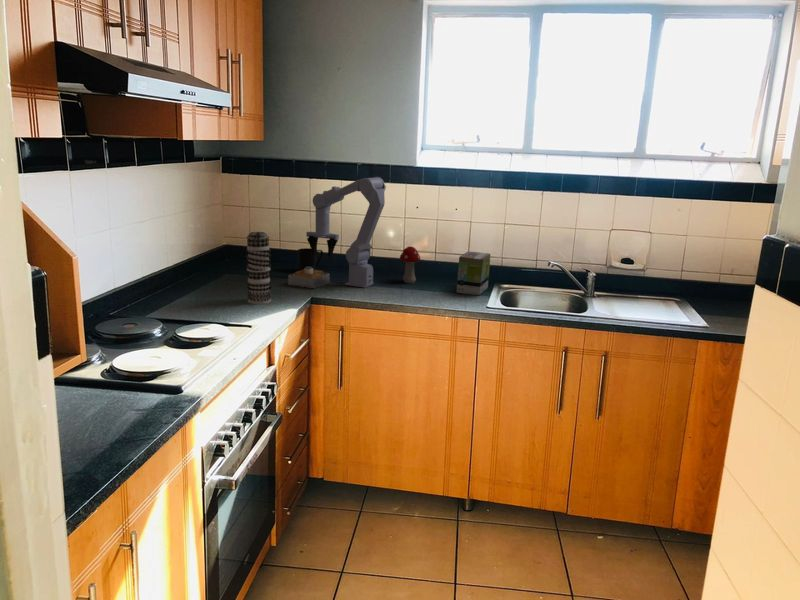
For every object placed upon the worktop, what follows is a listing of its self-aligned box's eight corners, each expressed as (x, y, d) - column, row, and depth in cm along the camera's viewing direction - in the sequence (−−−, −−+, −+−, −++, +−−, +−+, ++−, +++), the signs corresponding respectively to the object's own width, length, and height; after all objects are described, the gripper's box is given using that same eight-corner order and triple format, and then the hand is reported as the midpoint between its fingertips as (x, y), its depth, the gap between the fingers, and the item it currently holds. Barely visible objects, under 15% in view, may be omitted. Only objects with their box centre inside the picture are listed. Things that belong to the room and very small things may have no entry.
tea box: (480, 295, 258) (483, 258, 255) (455, 293, 262) (457, 256, 258) (488, 287, 272) (490, 252, 268) (464, 285, 275) (466, 250, 272)
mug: (327, 271, 293) (327, 250, 291) (303, 273, 286) (303, 252, 284) (317, 267, 299) (317, 247, 297) (294, 270, 292) (294, 249, 290)
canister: (314, 283, 267) (314, 267, 266) (306, 284, 265) (306, 268, 264) (310, 281, 270) (310, 265, 269) (302, 282, 268) (302, 266, 267)
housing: (329, 283, 271) (329, 270, 270) (313, 288, 260) (313, 276, 259) (304, 279, 276) (304, 267, 274) (288, 285, 265) (288, 272, 264)
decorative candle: (256, 305, 234) (254, 235, 228) (241, 300, 240) (239, 232, 234) (277, 301, 240) (276, 233, 234) (262, 296, 247) (261, 230, 240)
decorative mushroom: (397, 279, 282) (398, 244, 278) (417, 279, 283) (418, 244, 280) (401, 284, 273) (402, 248, 269) (421, 284, 274) (423, 248, 270)
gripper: (342, 223, 274) (342, 255, 277) (312, 220, 280) (312, 251, 283) (334, 225, 268) (333, 258, 271) (303, 222, 273) (303, 254, 277)
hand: (322, 255), depth 277 cm, fingers open, 7 cm apart
